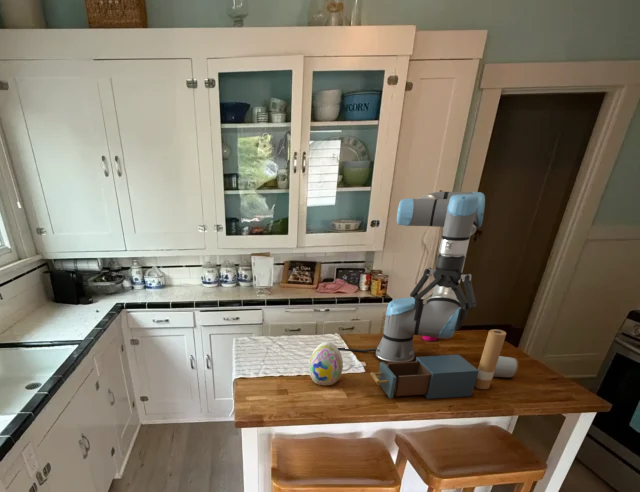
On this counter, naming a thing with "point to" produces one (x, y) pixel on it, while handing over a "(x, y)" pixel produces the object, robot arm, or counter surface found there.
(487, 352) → the paper roll
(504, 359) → the ceramic mug
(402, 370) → the drawer
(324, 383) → the decorative egg
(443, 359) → the cabinet
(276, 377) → the counter surface
